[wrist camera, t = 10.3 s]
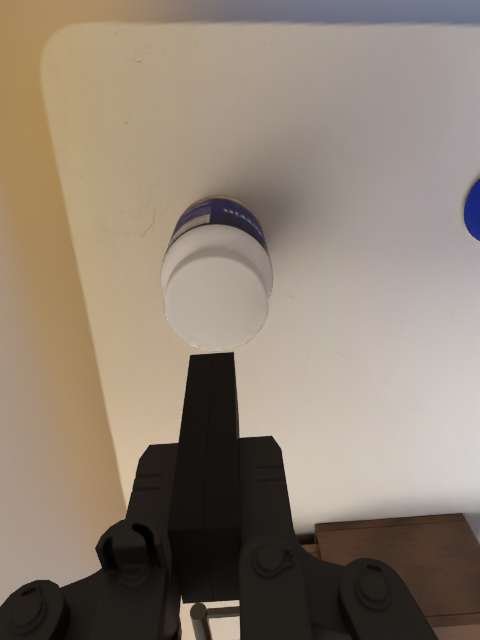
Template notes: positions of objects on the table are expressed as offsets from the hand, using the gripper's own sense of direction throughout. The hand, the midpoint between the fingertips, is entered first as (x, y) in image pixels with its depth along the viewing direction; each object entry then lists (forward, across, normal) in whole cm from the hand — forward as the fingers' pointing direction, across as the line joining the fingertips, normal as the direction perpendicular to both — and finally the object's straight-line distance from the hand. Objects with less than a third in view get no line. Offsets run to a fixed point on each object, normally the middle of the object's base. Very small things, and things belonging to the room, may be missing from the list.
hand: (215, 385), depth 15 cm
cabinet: (+15, +14, -35) cm, 41 cm away
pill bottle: (+15, 0, +1) cm, 15 cm away
